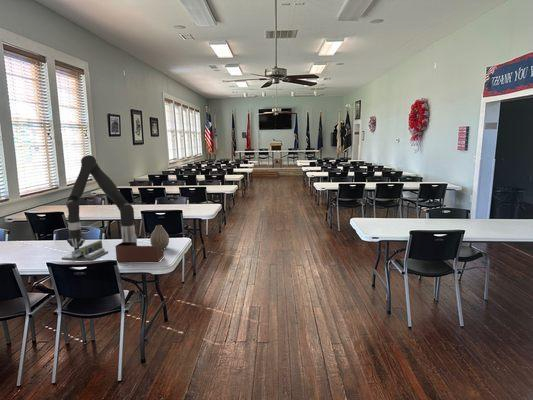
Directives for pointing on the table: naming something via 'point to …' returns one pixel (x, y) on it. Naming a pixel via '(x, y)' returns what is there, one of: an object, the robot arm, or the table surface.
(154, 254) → the desk organizer
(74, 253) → the sliding jaw
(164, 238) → the vase
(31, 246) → the table surface
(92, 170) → the robot arm
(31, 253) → the table surface
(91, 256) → the vise bed
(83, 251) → the handheld radio
